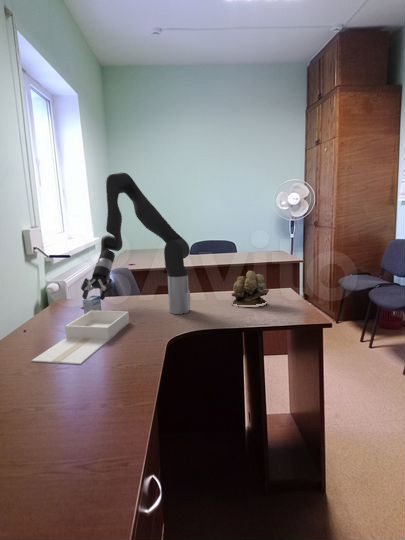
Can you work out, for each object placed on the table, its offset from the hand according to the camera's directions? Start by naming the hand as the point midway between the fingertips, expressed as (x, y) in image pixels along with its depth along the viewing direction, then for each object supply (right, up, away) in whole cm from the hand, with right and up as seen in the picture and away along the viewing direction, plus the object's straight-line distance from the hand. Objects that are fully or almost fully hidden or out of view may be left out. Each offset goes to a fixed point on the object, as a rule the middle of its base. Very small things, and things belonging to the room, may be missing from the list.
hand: (92, 298), depth 151 cm
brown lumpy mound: (+73, -4, +10) cm, 74 cm away
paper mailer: (+7, -13, -28) cm, 31 cm away
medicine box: (0, -8, 0) cm, 8 cm away
